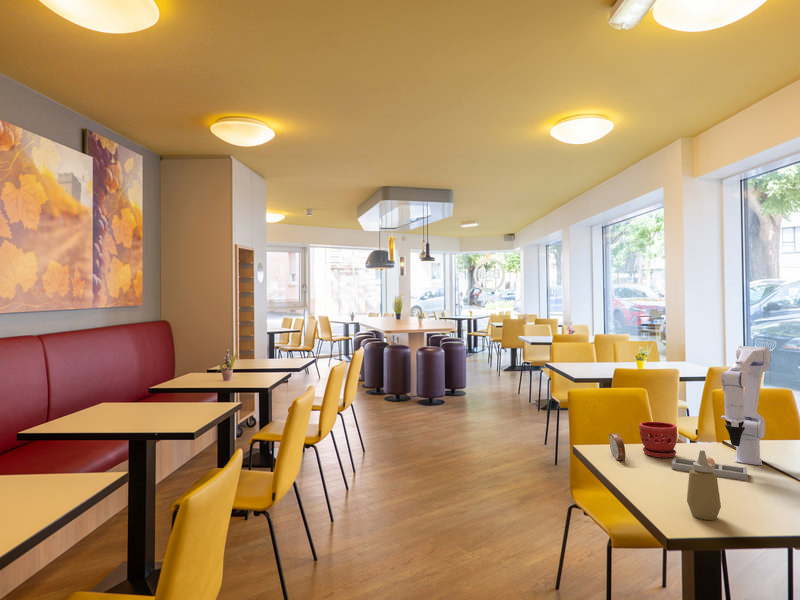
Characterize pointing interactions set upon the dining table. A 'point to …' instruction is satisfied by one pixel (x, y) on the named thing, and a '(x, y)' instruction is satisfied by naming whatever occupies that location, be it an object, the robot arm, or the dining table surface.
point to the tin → (617, 446)
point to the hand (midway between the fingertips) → (735, 443)
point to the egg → (711, 461)
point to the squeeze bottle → (703, 490)
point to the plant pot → (658, 438)
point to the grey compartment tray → (719, 469)
